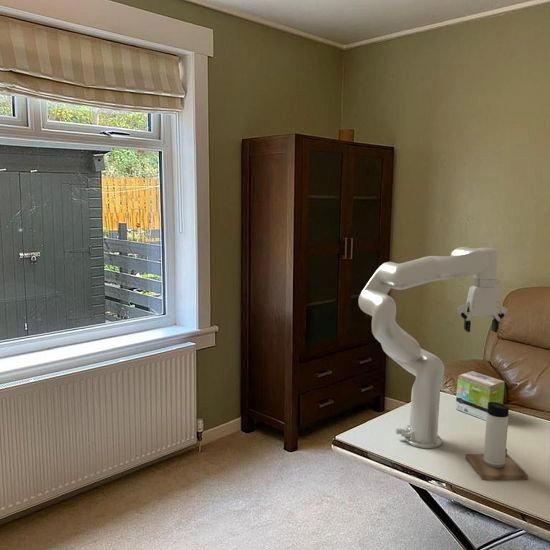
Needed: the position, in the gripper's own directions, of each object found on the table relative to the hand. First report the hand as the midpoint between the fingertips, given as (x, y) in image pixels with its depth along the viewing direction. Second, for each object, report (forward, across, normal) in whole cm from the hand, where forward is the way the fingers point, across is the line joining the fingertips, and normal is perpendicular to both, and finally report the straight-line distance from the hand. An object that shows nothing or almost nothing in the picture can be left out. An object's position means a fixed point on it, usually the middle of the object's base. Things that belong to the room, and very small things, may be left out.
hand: (480, 331), depth 196 cm
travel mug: (+37, +4, +25) cm, 45 cm away
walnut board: (+38, +3, +25) cm, 46 cm away
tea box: (+39, -10, -20) cm, 45 cm away
